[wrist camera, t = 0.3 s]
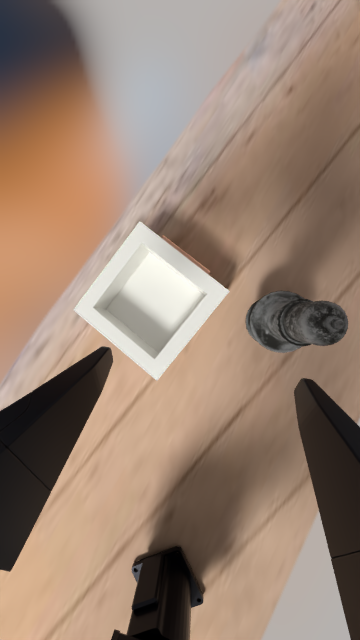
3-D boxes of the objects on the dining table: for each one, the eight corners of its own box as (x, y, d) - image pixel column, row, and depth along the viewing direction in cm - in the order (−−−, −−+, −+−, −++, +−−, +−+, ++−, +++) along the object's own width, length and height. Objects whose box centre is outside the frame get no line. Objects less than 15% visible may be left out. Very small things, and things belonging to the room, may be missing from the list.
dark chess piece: (295, 293, 23) (398, 265, 11) (299, 346, 23) (405, 376, 11) (241, 296, 24) (282, 274, 12) (244, 348, 24) (289, 379, 12)
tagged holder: (227, 293, 24) (232, 287, 20) (164, 370, 24) (156, 380, 20) (151, 234, 24) (142, 217, 21) (93, 311, 25) (73, 309, 21)
